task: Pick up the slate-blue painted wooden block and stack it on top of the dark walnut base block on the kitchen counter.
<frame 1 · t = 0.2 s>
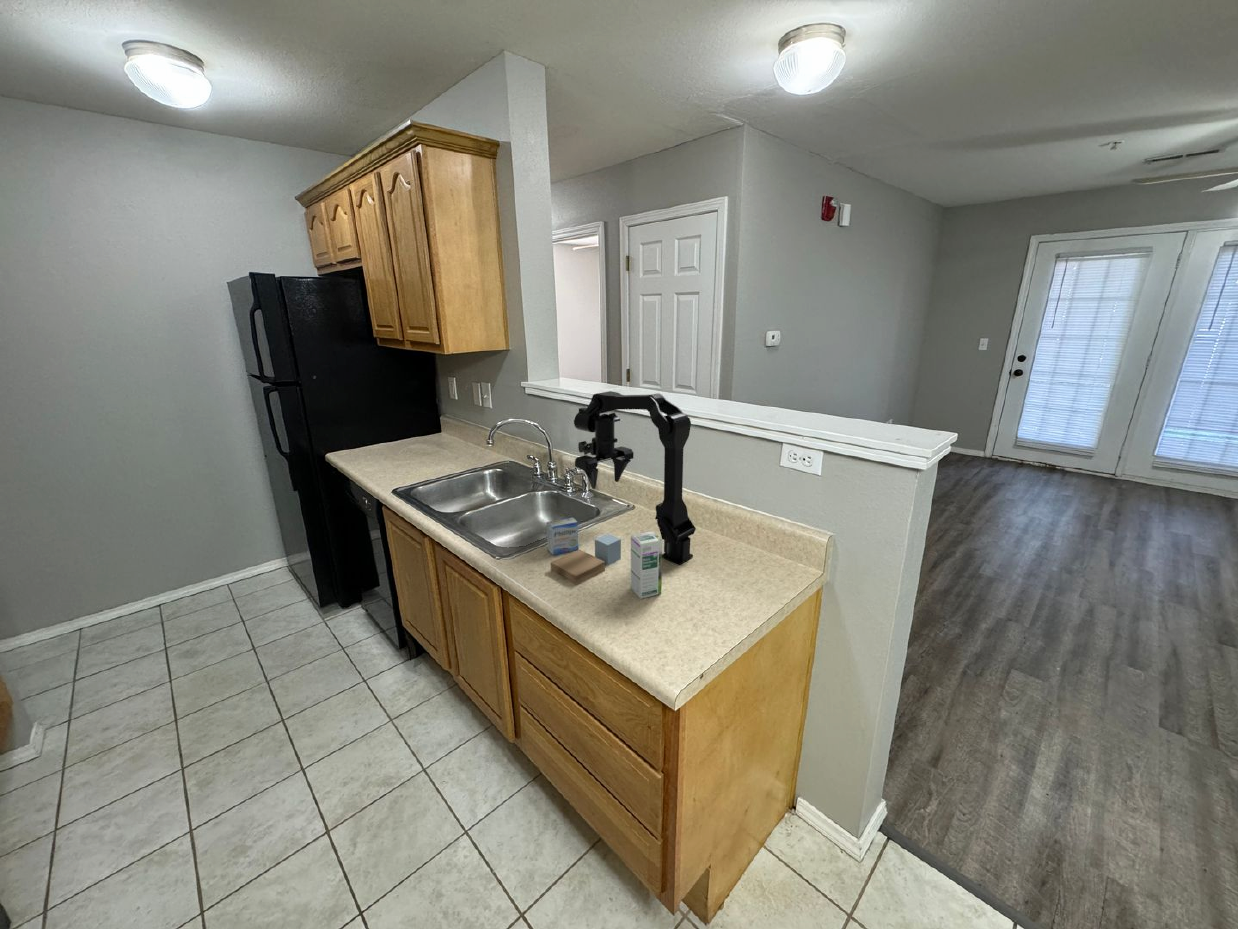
hand: (605, 485, 152), 14 cm above the worktop, fingers open, 9 cm apart
slate block: (607, 559, 138), on the worktop
walnut block: (578, 572, 131), on the worktop
syrup box: (645, 591, 122), on the worktop
medicine box: (563, 550, 143), on the worktop
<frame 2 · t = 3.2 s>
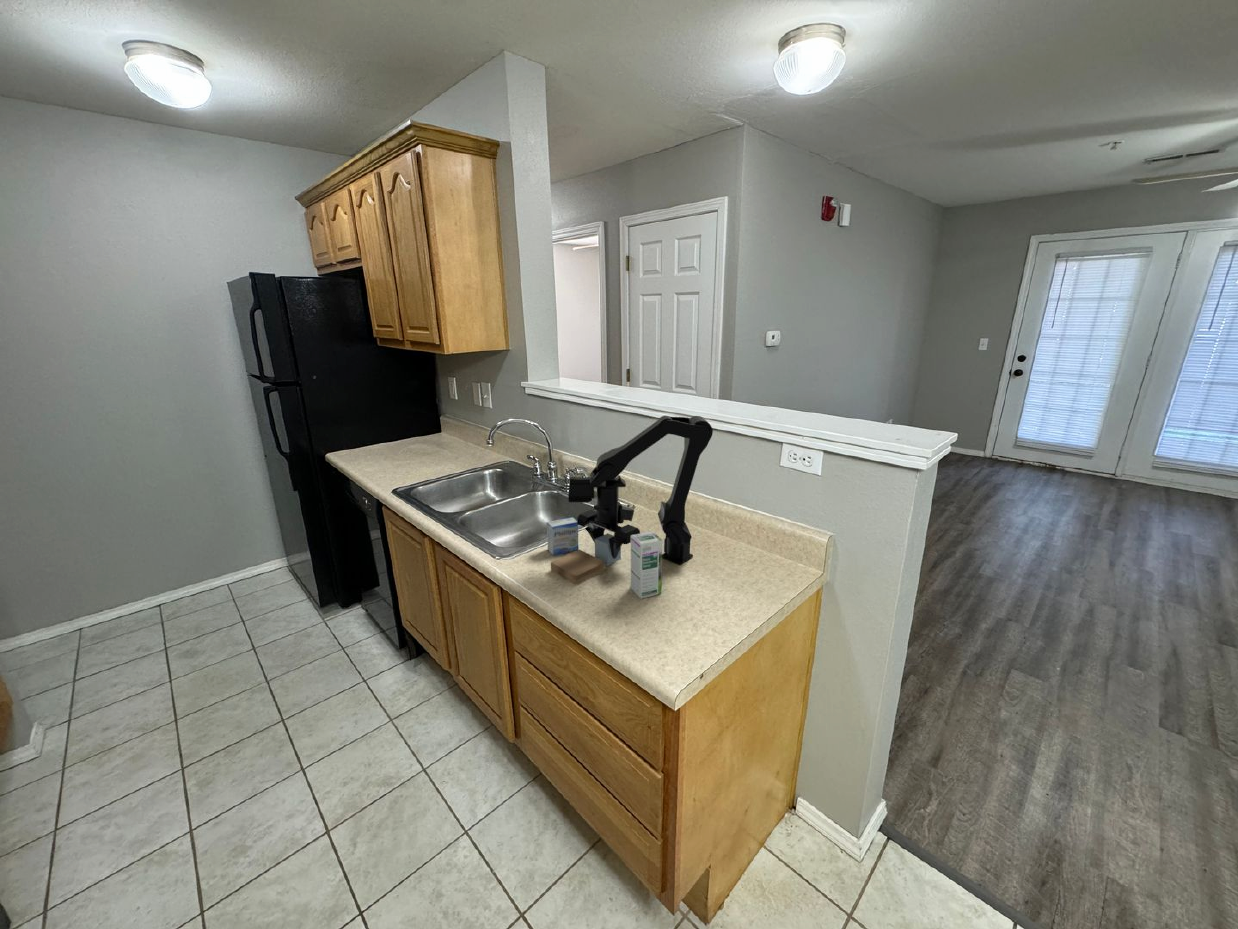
hand: (607, 554, 137), 1 cm above the worktop, fingers closed on slate block, 5 cm apart
slate block: (607, 558, 138), on the worktop, touching gripper
everything else where it was.
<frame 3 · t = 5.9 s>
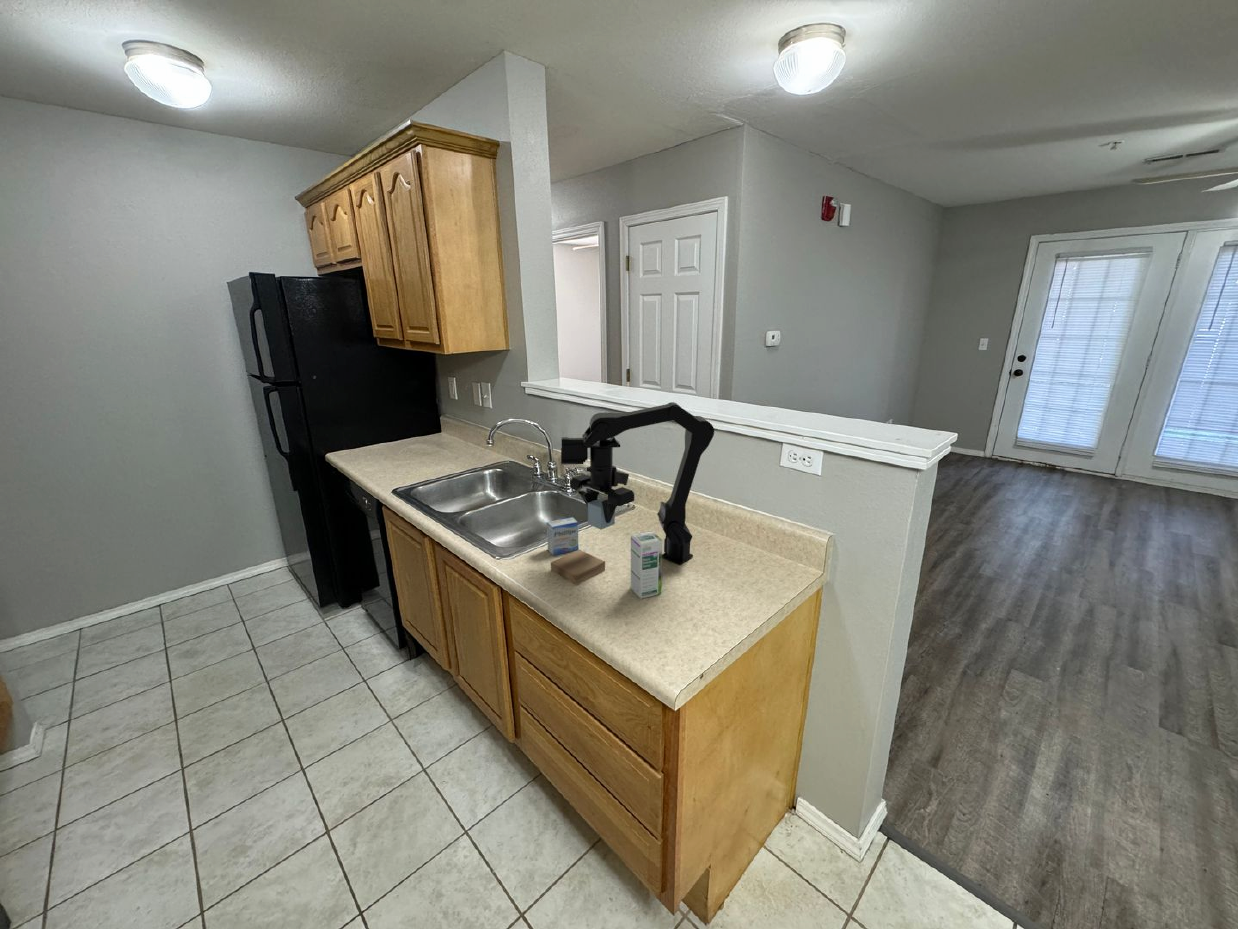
hand: (601, 519, 133), 12 cm above the worktop, fingers closed on slate block, 5 cm apart
slate block: (601, 524, 133), point 11 cm above the worktop, touching gripper
everything else where it was.
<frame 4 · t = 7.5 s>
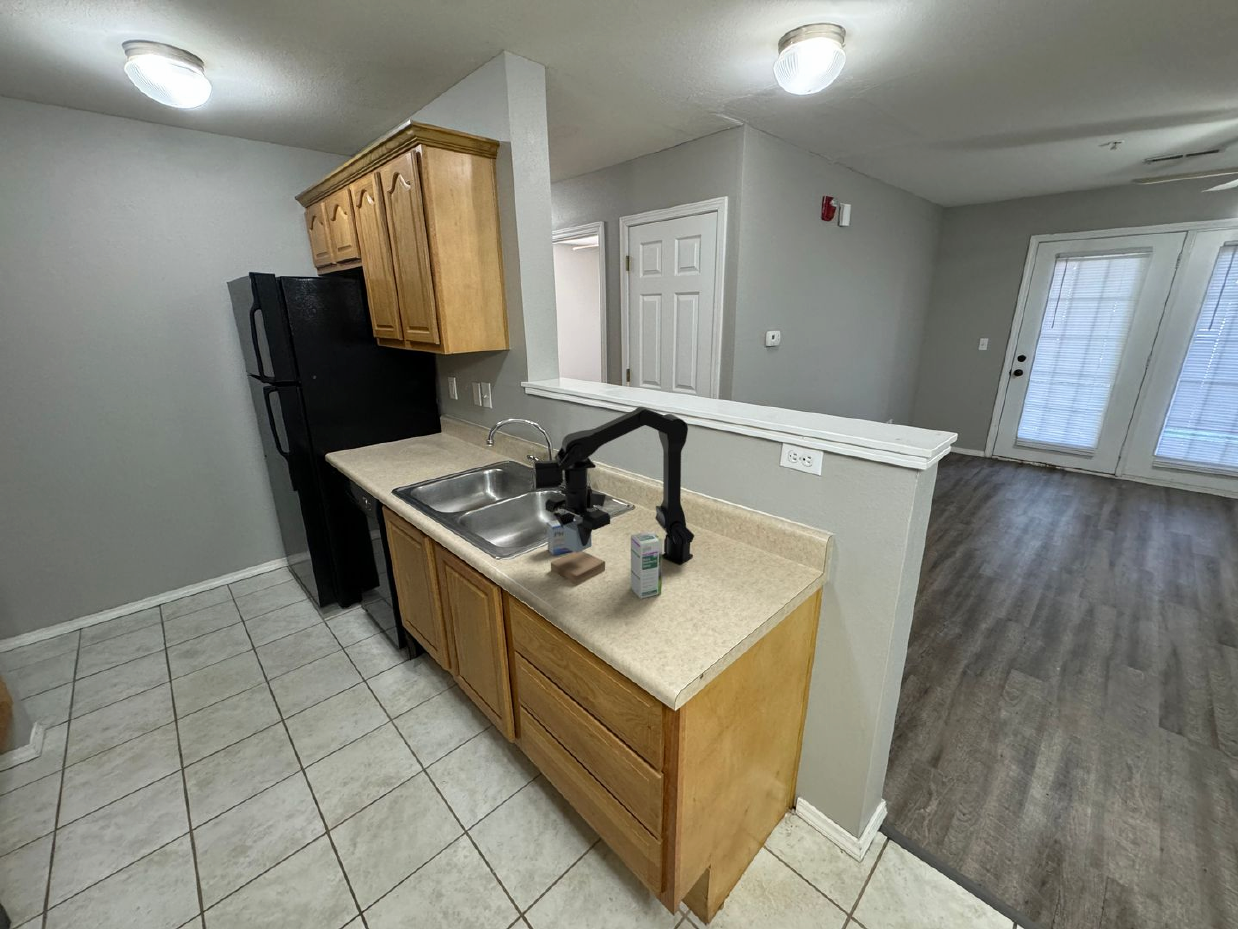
hand: (577, 542, 129), 8 cm above the worktop, fingers closed on slate block, 5 cm apart
slate block: (577, 546, 129), point 7 cm above the worktop, touching gripper
everything else where it was.
when the fingers open (6 cm above the worktop, at t = 8.9 s): slate block drops 2 cm, point 2 cm above the worktop.
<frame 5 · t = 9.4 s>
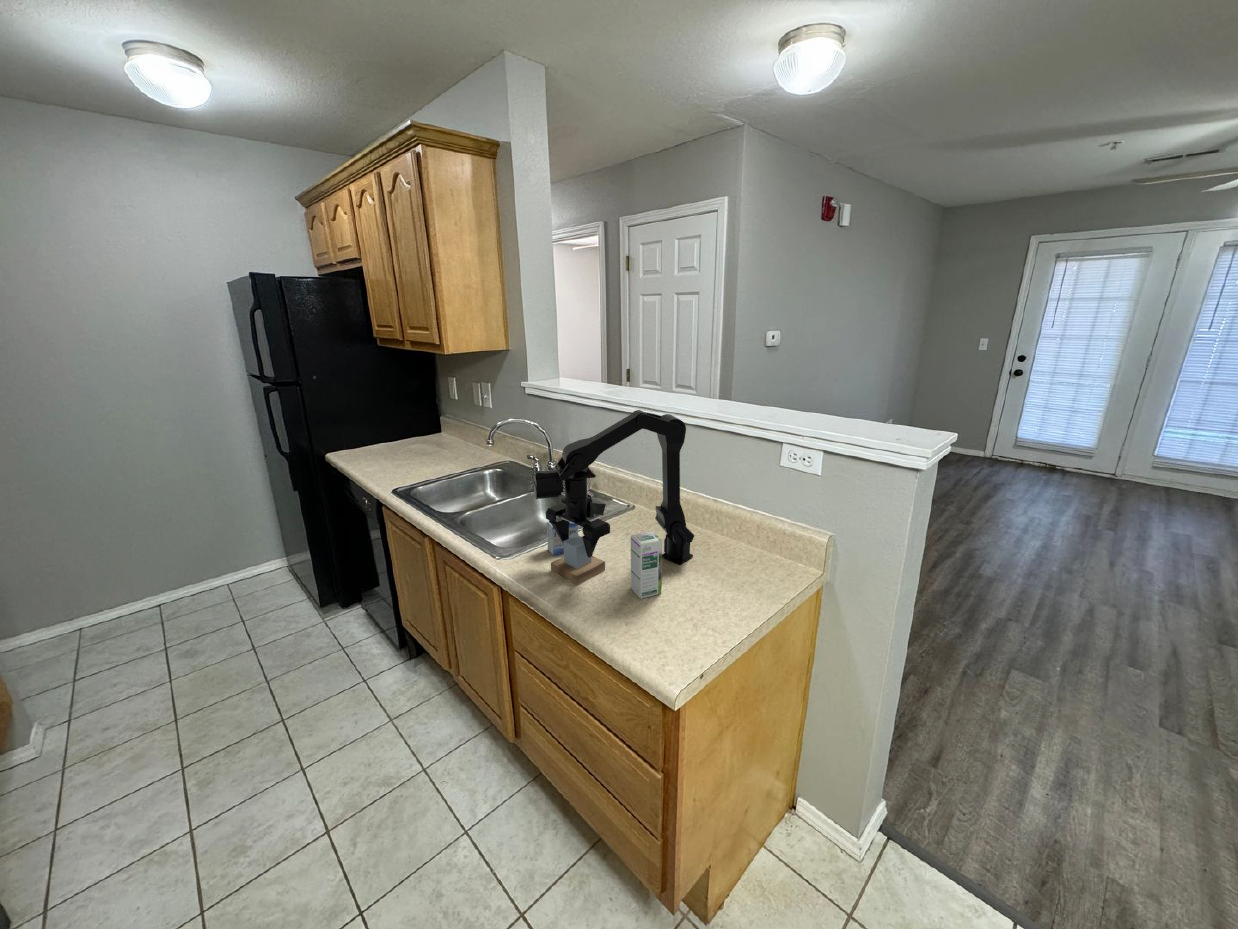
hand: (577, 551, 130), 6 cm above the worktop, fingers open, 9 cm apart
slate block: (577, 562, 131), point 2 cm above the worktop
everything else where it was.
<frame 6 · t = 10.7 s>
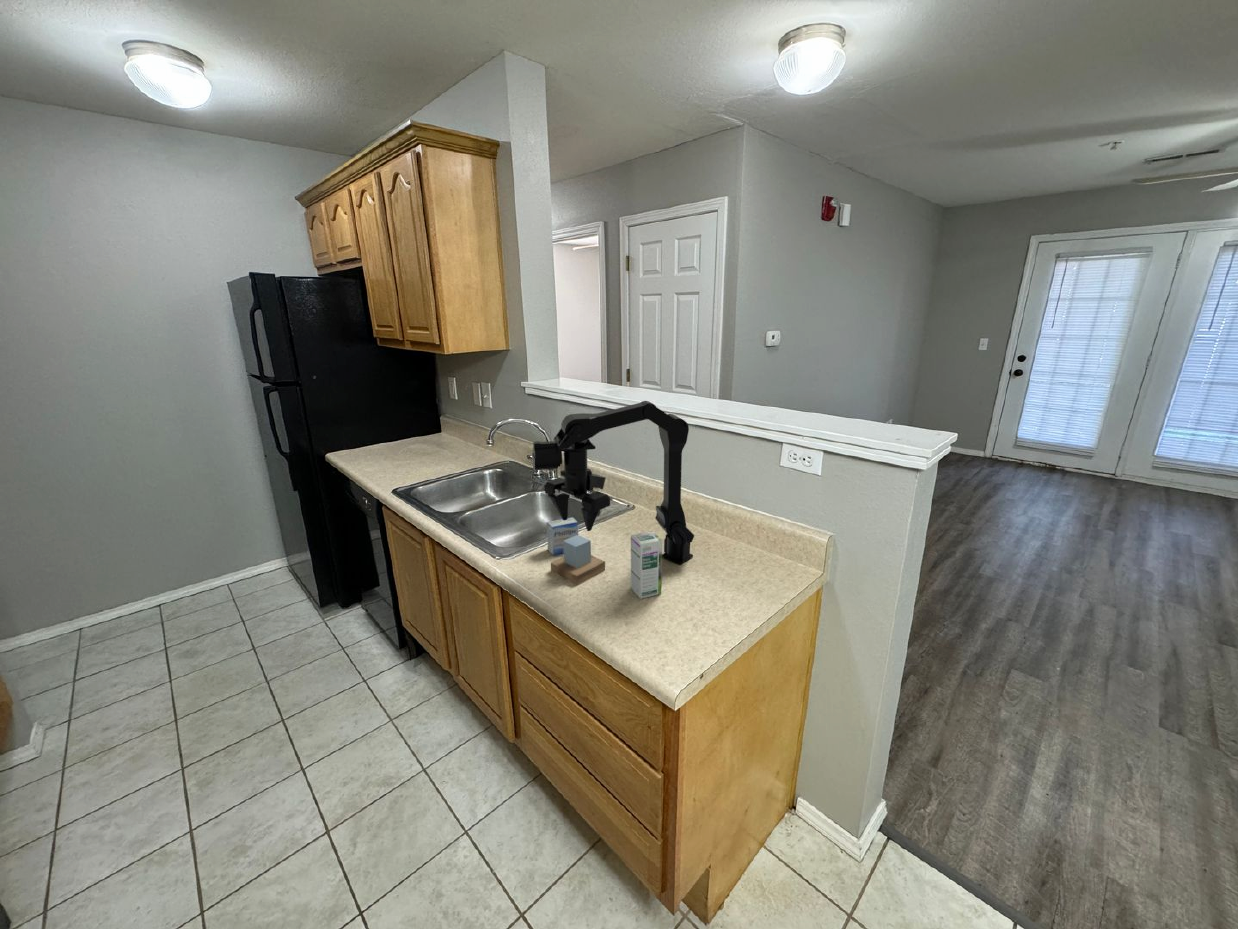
hand: (576, 525, 127), 13 cm above the worktop, fingers open, 9 cm apart
slate block: (577, 561, 131), point 3 cm above the worktop, touching walnut block
walnut block: (578, 572, 131), on the worktop, touching slate block
everything else where it was.
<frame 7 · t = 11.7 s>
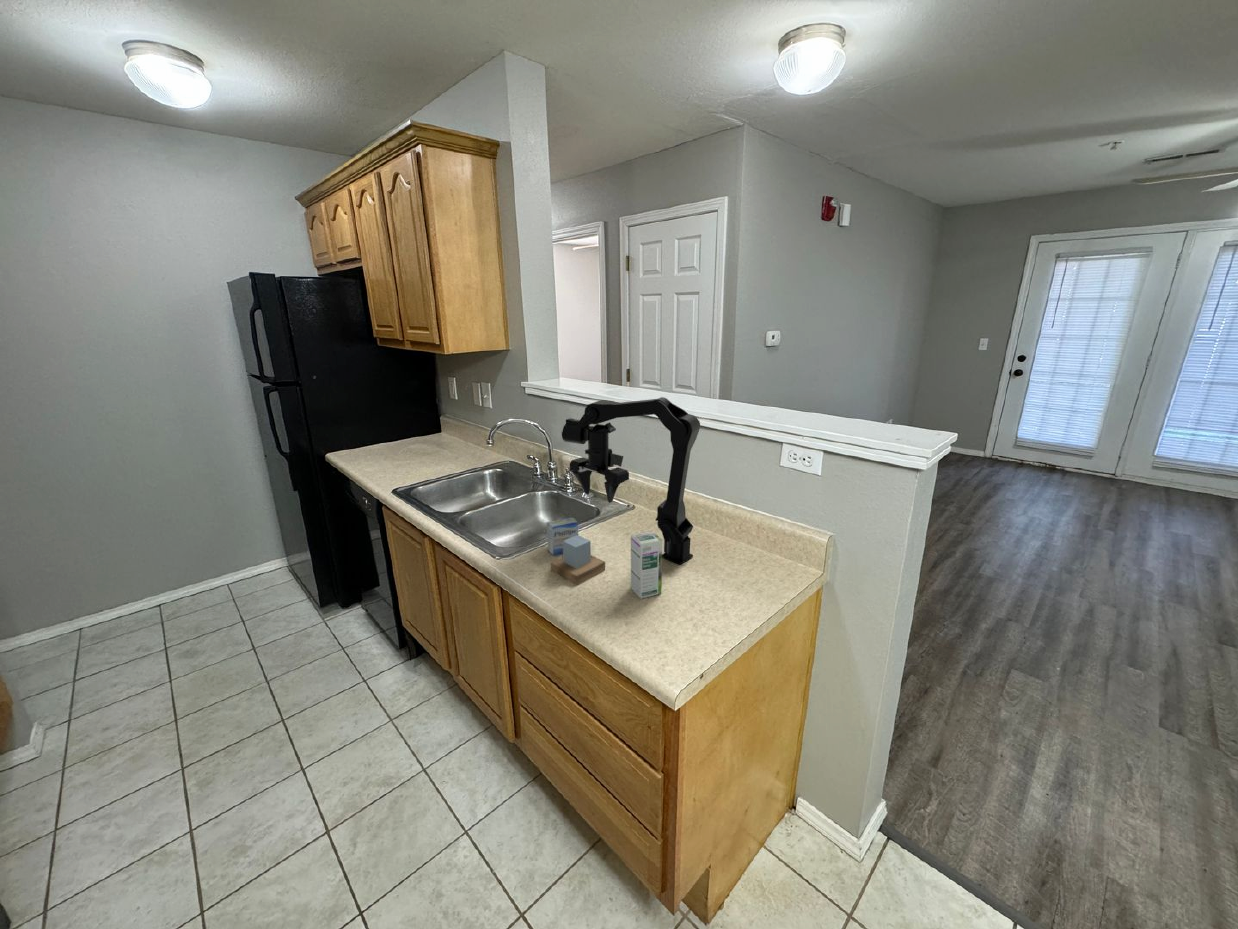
hand: (598, 498, 145), 13 cm above the worktop, fingers open, 9 cm apart
nothing on the worktop moved.
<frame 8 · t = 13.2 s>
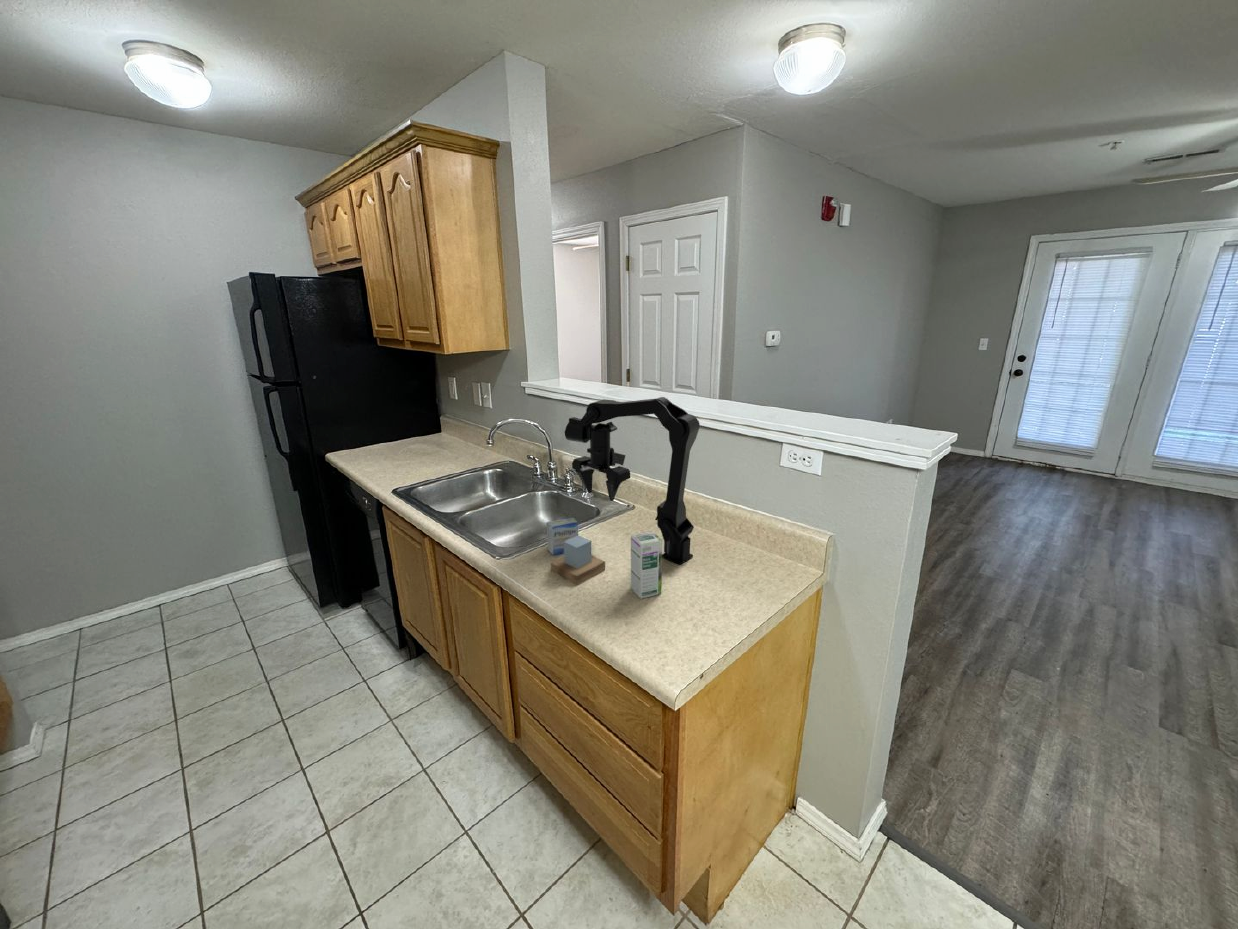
hand: (600, 496, 146), 13 cm above the worktop, fingers open, 9 cm apart
nothing on the worktop moved.
at the end: slate block 0.0 cm off-centre on the walnut block, point 3.0 cm above the walnut block's base; slate block tilted 0°; the gripper is holding nothing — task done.
